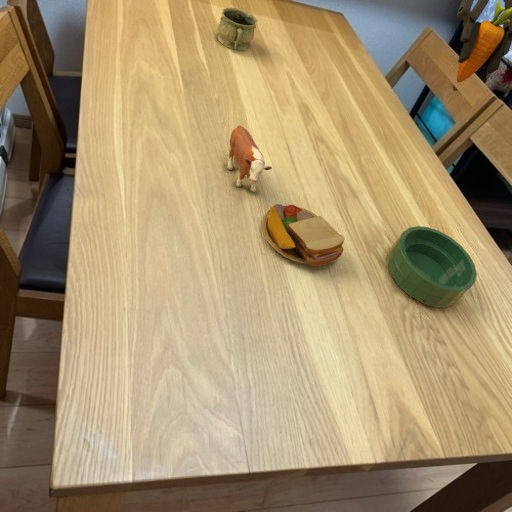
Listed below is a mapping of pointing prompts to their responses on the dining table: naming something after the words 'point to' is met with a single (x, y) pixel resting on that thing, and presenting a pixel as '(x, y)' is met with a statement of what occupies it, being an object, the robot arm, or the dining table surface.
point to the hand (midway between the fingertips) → (477, 65)
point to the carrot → (484, 43)
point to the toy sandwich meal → (301, 235)
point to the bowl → (431, 266)
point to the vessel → (236, 28)
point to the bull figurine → (246, 156)
